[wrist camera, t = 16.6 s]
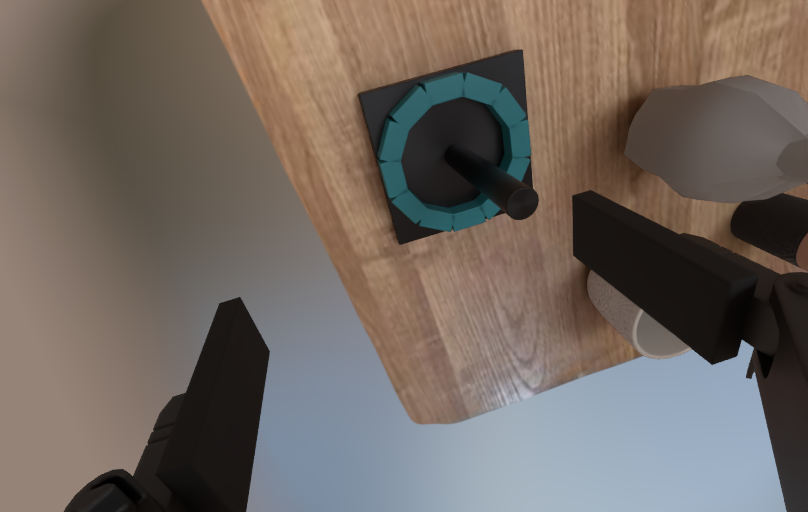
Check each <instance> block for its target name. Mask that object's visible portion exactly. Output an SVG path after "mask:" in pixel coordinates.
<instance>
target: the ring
mask: <svg viewBox="0 0 808 512" xmlns="http://www.w3.org/2000/svg"><path fill="white" fill-rule="evenodd" d="M460 97H465V98H468V99H471V100H475V101H478V102H481V103H484V104H485V105H486V107H487V108H488V109H489V110H490V112H491V113H492V114H493V116H494V117H495V118H496V119H497V121H498V122H499V123H500V124H501V127H502V135H503V144H504V152H505V154H504V156H503V159H502V162H501V164H500V167H499V168H500V169H502V170H503V171H505V172H507V173H508V174H510V175H511V176H513V177H515V178H516V179H518V180H519V181H521V182H522V179H523V177H524V174H525V172H526V169H527V167H528V165H529V162H530V159H529V158H527V156H530V155H531V148H530V137H529V125H528V119H524V118H525V117H526V114H525V112H524V111H523V110H522V108H521V107H520V106H519V104H518V103H517V101H516V100H515V99H514V97H513V96H512V95H511V93H510V92H509V91H508V89H507V88H506V87H503V86H502V84H501V83H498V82H495V81H492V80H489V79H486V78H483V77H480V76H477V75H473V74H470V73H467V72H453V73H450V74H446V75H443V76H439V77H436V78H432V79H429V80H426V81H422V82H420V86H417V85H415V86H414V87H413V88H412V89H411V90H410V91H409V92H408V93H407V94H406V96H405V97H404V98H403V99H402V100H401V101H400V102H399V103H398V104H397V105H396V106H395V107H394V108H393V110H392V111H391V112H390V113H389V115H390V116H391V117H392V118H393V119H394V120H392V119H389V118H386V121H385V125H384V129H383V133H382V137H381V142H380V146H379V150H378V154H377V155H378V157H379V159H377V160H378V164H379V168H380V171H381V175H382V178H383V182H384V185H385V189H386V192H387V194H388V196H389V198H390V199H391V202H392V203H393V204H394V205H395V206H396V207H398V208H399V209H400V210H401V211H402V212H403V213H404V214H405V215H406V216H407V217H408V218H410V219H411V220H412V221H413V222H414V223H415V224H416V223H418V225H419V226H423V227H428V228H433V229H438V230H443V231H448V232H451V229H453V231H454V232H455V231H458V230H461V229H465V228H468V227H471V226H474V225H477V224H481V223H484V222H486V220H485V216H486V217H487V218H488V219H489V220H490V219H491V218H492V217H493V216H494V215H495V214H496V213H497V212H498V211H499V210H500V208H499V207H498V206H497V205H495V204H494V203H493V202H492V201H491V200H489V199H488V198H487V197H486V196H485V195H484V194H482V193H481V194H480V195H479V196H478V197H477V198H476V199H475V200H473V201H470V202H466V203H463V204H460V205H457V206H453V207H450V208H446V207H441V206H437V205H432V204H427V203H423V202H422V201H421V200H420V199H419V198H418V197H417V196H416V195H415V194H414V193H413V192H412V191H411V190H410V189H409V188H408V187H407V184H406V180H405V176H404V172H403V168H402V164H401V158H402V154H403V151H404V147H405V143H406V140H407V136H408V132H409V130H410V129H411V127H412V126H413V125H414V124H415V123H416V122H417V121H418V120H419V119H420V118H421V117H422V116H423V115H424V114H425V113H426V112H427V111H428V110H429V109H430V108H431V106H433V105H436V104H440V103H443V102H447V101H450V100H453V99H457V98H460Z"/></svg>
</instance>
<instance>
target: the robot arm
mask: <svg viewBox="0 0 808 512" xmlns="http://www.w3.org/2000/svg"><path fill="white" fill-rule="evenodd" d="M572 203H573V256H574V257H576V258H577V259H578V260H580V261H581V262H582V263H583V264H585V265H586V266H587V267H588V268H590V269H591V270H592V271H593V272H595V273H596V274H597V275H599V276H600V277H601V278H602V279H604V280H605V281H606V282H607V283H609V284H610V285H611V286H613V287H614V288H615V289H616V290H618V291H619V292H620V293H621V294H623V295H624V296H625V297H627V298H628V299H629V300H630V301H632V302H633V303H634V304H635V305H637V306H638V307H639V308H640V309H642V310H643V311H644V312H646V313H647V314H648V315H649V316H651V317H652V318H653V319H654V320H656V321H657V322H658V323H660V324H661V325H662V326H663V327H665V328H666V329H667V330H668V331H670V332H671V333H672V334H674V335H675V336H676V337H677V338H679V339H680V340H681V341H682V342H684V343H685V344H686V345H687V346H689V347H690V348H691V349H693V350H694V351H695V352H696V353H698V354H699V355H700V356H702V357H703V358H704V359H705V360H707V361H708V362H709V363H710V364H712V365H713V364H716V363H719V362H722V361H724V360H728V359H731V358H734V357H736V356H737V355H738V351H739V347H740V344H741V340H744V341H745V342H747V343H748V344H750V345H751V346H753V347H754V350H753V353H752V357H751V360H750V363H749V367H748V370H747V375H746V378H750V379H751V378H752V375H753V373H754V372H755V374H756V378H757V383H758V387H759V392H760V396H761V400H762V405H763V409H764V414H765V418H766V422H767V427H768V430H769V435H770V440H771V444H772V449H773V453H774V457H775V462H776V466H777V471H778V475H779V479H780V484H781V488H782V493H783V497H784V502H785V506H786V510H787V512H808V273H804V272H794V273H786V274H782V275H781V274H779V273H776V272H774V271H772V270H770V269H768V268H766V267H764V266H762V265H760V264H758V263H756V262H753V261H751V260H749V259H747V258H745V257H743V256H741V255H739V254H737V253H732V251H730V250H728V249H726V248H724V247H720V246H719V245H718V244H716V243H714V242H712V241H709V240H707V239H705V238H703V237H699V236H695V235H691V234H686V233H682V234H677V233H675V232H673V231H671V230H669V229H667V228H665V227H663V226H661V225H659V224H657V223H655V222H653V221H651V220H649V219H647V218H645V217H643V216H641V215H639V214H637V213H635V212H633V211H631V210H629V209H627V208H625V207H623V206H621V205H619V204H617V203H615V202H613V201H611V200H609V199H607V198H605V197H603V196H601V195H599V194H597V193H595V192H593V191H591V190H589V191H586V192H583V193H579V194H576V195H573V196H572ZM269 353H270V351H269V349H268V347H267V346H266V344H265V342H264V340H263V338H262V336H261V334H260V333H259V331H258V329H257V327H256V325H255V323H254V322H253V320H252V318H251V316H250V314H249V312H248V311H247V309H246V307H245V305H244V303H243V301H242V300H241V298H240V297H239V298H236V299H232V300H229V301H226V302H222V303H220V304H219V306H218V309H217V311H216V314H215V317H214V319H213V322H212V325H211V327H210V330H209V333H208V335H207V338H206V341H205V343H204V346H203V349H202V351H201V354H200V357H199V360H198V362H197V365H196V367H195V370H194V373H193V375H192V378H191V381H190V383H189V386H188V389H187V391H186V393H184V394H180V395H177V396H174V397H172V399H171V400H170V401H169V402H168V404H167V405H166V406H165V407H164V409H163V410H162V411H161V412H160V414H159V417H158V419H157V421H156V424H155V426H154V428H153V430H154V432H152V433H151V435H150V438H149V440H148V445H147V446H146V447H145V450H144V452H143V454H142V456H141V459H140V461H139V463H138V466H137V468H136V471H135V473H134V475H133V476H132V475H131V474H129V473H128V472H127V471H125V470H123V469H117V470H112V471H109V472H107V473H104V474H102V475H100V476H98V477H97V478H95V479H94V480H92V481H91V482H89V483H88V484H87V485H86V486H85V487H84V488H83V489H82V490H80V491H79V492H78V493H77V494H76V495H75V496H74V498H73V499H72V500H71V502H70V503H69V504H68V506H67V507H66V508H65V511H64V512H246V509H247V502H248V495H249V489H250V482H251V475H252V467H253V462H254V455H255V448H256V441H257V435H258V428H259V421H260V414H261V407H262V400H263V393H264V387H265V380H266V373H267V367H268V360H269Z"/></svg>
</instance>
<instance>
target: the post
mask: <svg viewBox="0 0 808 512" xmlns="http://www.w3.org/2000/svg"><path fill="white" fill-rule="evenodd" d="M453 72H467V73H470V74H473V75H477V76H480V77H483V78H486V79H489V80H492V81H495V82H498V83H501V84H502V86H503V87H506V88H507V89H508V91H509V92H510V93H511V95H512V96H513V97H514V99H515V100H516V101H517V103H518V104H519V106H520V107H521V108H522V110H523V111H524V112H525V114H526V117H525V118H524V119H528V115H527V101H526V87H525V73H524V60H523V50H513V51H510V52H506V53H502V54H499V55H495V56H491V57H488V58H484V59H480V60H477V61H473V62H470V63H466V64H462V65H459V66H455V67H451V68H448V69H444V70H441V71H437V72H433V73H430V74H426V75H422V76H419V77H415V78H411V79H408V80H404V81H401V82H397V83H393V84H390V85H386V86H382V87H379V88H375V89H372V90H368V91H364V92H361V93H358V97H359V100H360V104H361V108H362V111H363V115H364V119H365V123H366V126H367V130H368V134H369V137H370V141H371V145H372V148H373V152H374V156H375V159H376V163H377V167H378V170H379V174H380V178H381V182H382V185H383V189H384V193H385V196H386V200H387V204H388V207H389V211H390V215H391V218H392V222H393V226H394V229H395V233H396V237H397V240H398V242H399V245H401V244H404V243H408V242H411V241H414V240H417V239H421V238H424V237H427V236H431V235H434V234H437V233H441V232H444V231H443V230H438V229H433V228H428V227H423V226H419V225H418V223H416V224H415V223H414V222H413V221H412V220H411V219H410V218H408V217H407V216H406V215H405V214H404V213H403V212H402V211H401V210H400V209H399V208H398V207H396V206H395V205H394V204H393V203H392V202H391V199H390V198H389V196H388V194H387V192H386V189H385V185H384V182H383V178H382V175H381V171H380V168H379V164H378V160H377V159H379V157H378V155H377V154H378V150H379V146H380V142H381V137H382V133H383V129H384V125H385V121H386V118H389V119H392V120H394V119H393V118H392V117H391V116H390V115H389V113H390V112H391V111H392V110H393V108H394V107H395V106H396V105H397V104H398V103H399V102H400V101H401V100H402V99H403V98H404V97H405V96H406V94H407V93H408V92H409V91H410V90H411V89H412V88H413V87H414V86H415V85H417V86H420V82H422V81H426V80H429V79H432V78H436V77H439V76H443V75H446V74H450V73H453ZM504 154H505V152H504V144H503V135H502V127H501V124H500V123H499V122H498V121H497V119H496V118H495V117H494V116H493V114H492V113H491V112H490V110H489V109H488V108H487V107H486V105H485V104H484V103H481V102H478V101H475V100H471V99H468V98H465V97H460V98H457V99H453V100H450V101H447V102H443V103H440V104H436V105H433V106H431V108H430V109H429V110H428V111H427V112H426V113H425V114H424V115H423V116H422V117H421V118H420V119H419V120H418V121H417V122H416V123H415V124H414V125H413V126H412V127H411V129H410V130H409V132H408V136H407V140H406V143H405V147H404V151H403V154H402V158H401V164H402V168H403V172H404V176H405V180H406V184H407V187H408V188H409V189H410V190H411V191H412V192H413V193H414V194H415V195H416V196H417V197H418V198H419V199H420V200H421V201H422V202H423V203H427V204H432V205H437V206H441V207H446V208H450V207H453V206H457V205H460V204H463V203H466V202H470V201H473V200H475V199H476V198H477V197H478V196H479V195H480V194H481V193H482V194H484V195H485V196H486V197H487V198H488V199H489V200H491V201H492V202H493V203H494V204H495V205H497V206H498V207H499V208H500V210H499V211H498V212H497V213H496V214H495V215H494V216H497V215H501V214H504V213H506V214H507V215H508V216H510V217H511V218H513V219H515V220H523V219H526V218H528V217H529V216H531V215H532V214H533V213H534V212H535V210H536V208H537V206H538V201H539V199H538V195H537V193H536V191H535V190H534V189H533V183H532V170H531V156H527V158H529V159H530V162H529V165H528V167H527V169H526V172H525V174H524V177H523V179H522V182H521V181H519V180H518V179H516V178H515V177H513V176H511V175H510V174H508V173H507V172H505V171H503V170H502V169H500V168H499V167H500V164H501V162H502V159H503V156H504ZM494 216H493V217H494ZM485 219H487V217H486V216H485Z"/></svg>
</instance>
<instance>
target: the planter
mask: <svg viewBox="0 0 808 512" xmlns="http://www.w3.org/2000/svg"><path fill="white" fill-rule="evenodd" d="M587 290H588V294H589V297H590V299H591V301H592V303H593V304H594V306H595V307H596V308H597V310H598V311H599V312H600V313H601V315H602V316H603V317H604V318H605V319H606V320H607V321H608V322H609V323H610V324H611V325H612V326H613V327H614V328H615V329H616V330H617V331H618V332H619V333H620V334H621V335H622V336H623V337H624V338H625V339H626V340H627V341H628V342H629V343H630V344H631V345H632V346H633V347H634V348H635V349H636V350H637V351H638V352H639V353H640V354H642V355H643V356H645V357H648V358H652V359H667V358H672V357H676V356H679V355H681V354H684V353H686V352H688V351H690V350H692V349H691V348H690V347H689V346H687V345H686V344H685V343H684V342H682V341H681V340H680V339H679V338H677V337H676V336H675V335H674V334H672V333H671V332H670V331H668V330H667V329H666V328H665V327H663V326H662V325H661V324H660V323H658V322H657V321H656V320H654V319H653V318H652V317H651V316H649V315H648V314H647V313H646V312H644V311H643V310H642V309H640V308H639V307H638V306H637V305H635V304H634V303H633V302H632V301H630V300H629V299H628V298H627V297H625V296H624V295H623V294H621V293H620V292H619V291H618V290H616V289H615V288H614V287H613V286H611V285H610V284H609V283H607V282H606V281H605V280H604V279H602V278H601V277H600V276H599V275H597V274H596V273H595V272H593V271H592V270H590V272H589V275H588V280H587Z"/></svg>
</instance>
